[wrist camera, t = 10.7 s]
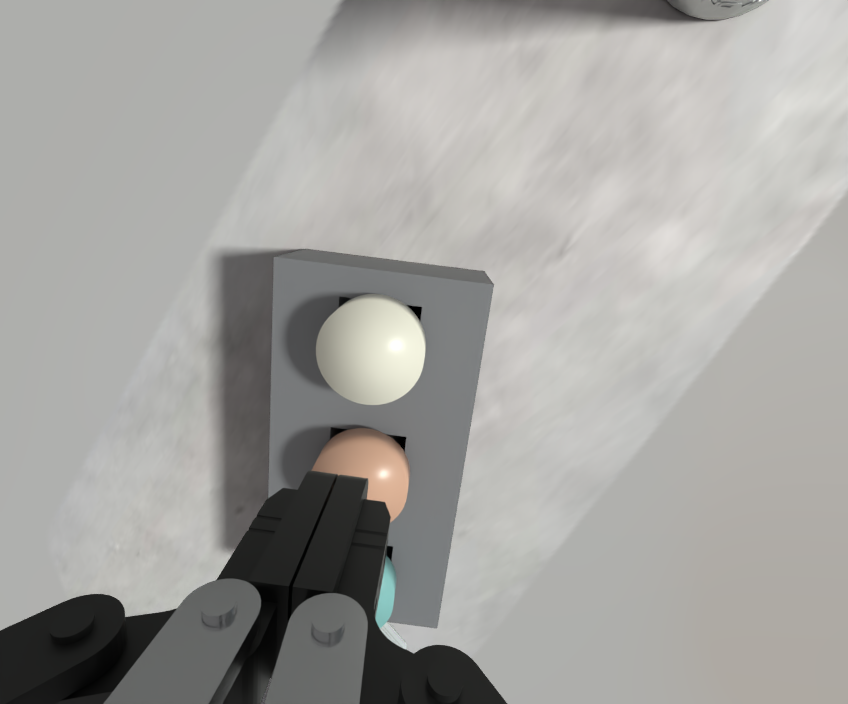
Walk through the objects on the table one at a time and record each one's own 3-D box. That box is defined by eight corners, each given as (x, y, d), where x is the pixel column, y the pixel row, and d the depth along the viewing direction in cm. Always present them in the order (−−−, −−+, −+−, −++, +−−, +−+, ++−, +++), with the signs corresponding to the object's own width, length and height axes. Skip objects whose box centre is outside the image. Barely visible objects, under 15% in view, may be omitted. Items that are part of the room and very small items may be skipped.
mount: (305, 248, 30) (273, 257, 25) (484, 271, 30) (493, 284, 25) (293, 545, 37) (265, 605, 32) (438, 564, 37) (437, 628, 32)
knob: (349, 274, 30) (318, 293, 23) (434, 285, 30) (430, 308, 23) (343, 355, 31) (313, 397, 24) (423, 366, 31) (417, 411, 24)
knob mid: (341, 388, 32) (311, 438, 25) (419, 398, 32) (412, 451, 25) (335, 458, 34) (306, 524, 26) (411, 468, 34) (401, 536, 26)
